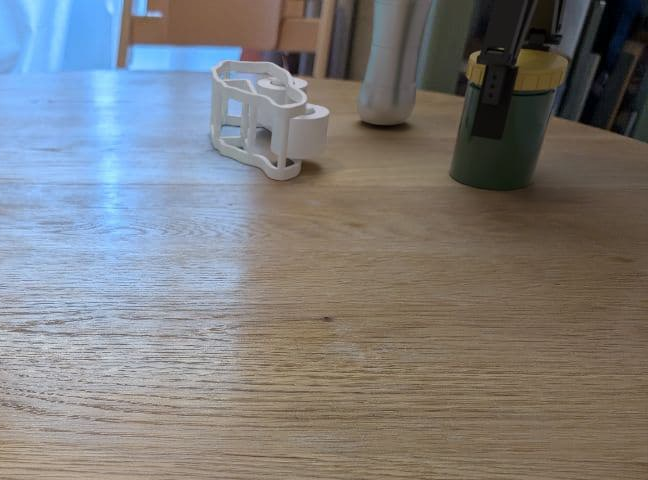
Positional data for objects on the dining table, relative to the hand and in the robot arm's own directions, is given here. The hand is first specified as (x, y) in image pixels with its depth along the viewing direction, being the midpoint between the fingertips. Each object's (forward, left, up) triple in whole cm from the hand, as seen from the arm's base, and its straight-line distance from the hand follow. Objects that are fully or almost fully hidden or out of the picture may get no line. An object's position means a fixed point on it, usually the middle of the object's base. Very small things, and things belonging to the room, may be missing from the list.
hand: (502, 124), depth 84 cm
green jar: (0, 0, -5) cm, 5 cm away
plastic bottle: (+12, -15, -5) cm, 20 cm away
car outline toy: (+24, -2, -5) cm, 25 cm away
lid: (0, 0, +6) cm, 6 cm away
